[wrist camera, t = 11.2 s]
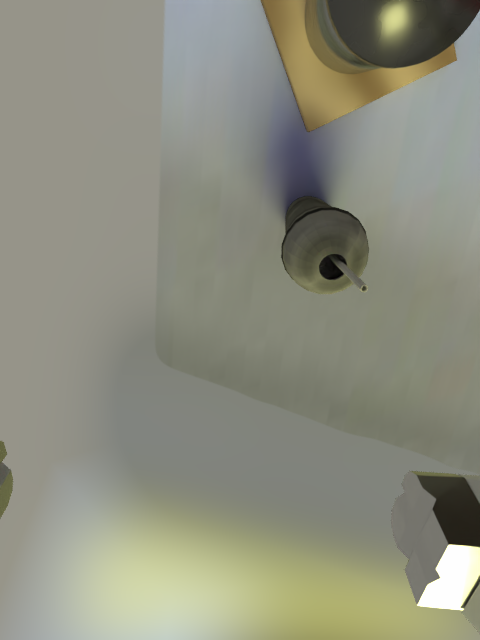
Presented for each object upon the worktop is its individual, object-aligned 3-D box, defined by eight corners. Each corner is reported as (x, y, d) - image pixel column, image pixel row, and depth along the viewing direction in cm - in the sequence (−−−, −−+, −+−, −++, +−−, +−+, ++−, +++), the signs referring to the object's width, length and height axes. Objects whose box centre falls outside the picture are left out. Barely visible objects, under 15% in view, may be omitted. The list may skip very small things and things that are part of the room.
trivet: (412, -130, 32) (419, -140, 31) (449, 61, 38) (456, 60, 37) (249, -33, 35) (249, -38, 34) (306, 131, 41) (308, 132, 40)
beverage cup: (268, 189, 44) (284, 248, 26) (338, 176, 43) (402, 228, 25) (277, 254, 47) (297, 345, 29) (342, 243, 46) (401, 331, 29)
